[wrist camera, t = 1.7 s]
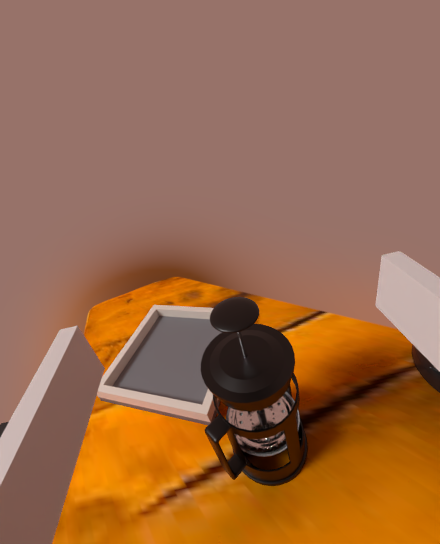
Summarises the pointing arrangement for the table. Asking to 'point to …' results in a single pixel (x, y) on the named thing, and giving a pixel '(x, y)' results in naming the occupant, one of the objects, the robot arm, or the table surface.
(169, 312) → the serving tray
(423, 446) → the table surface
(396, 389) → the table surface
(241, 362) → the french press
